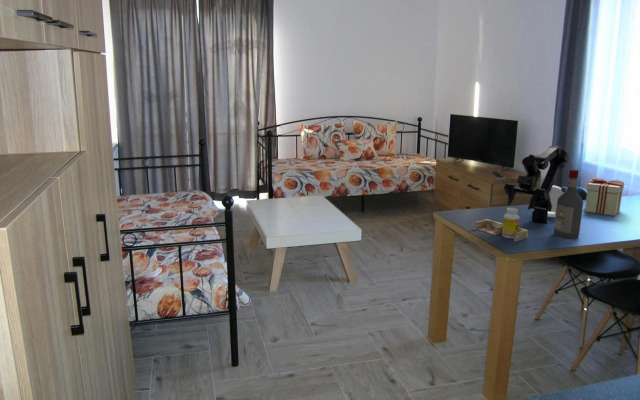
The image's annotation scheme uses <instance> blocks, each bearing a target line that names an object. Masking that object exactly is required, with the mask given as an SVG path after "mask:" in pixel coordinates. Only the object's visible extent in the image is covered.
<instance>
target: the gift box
mask: <svg viewBox="0 0 640 400" xmlns="http://www.w3.org/2000/svg"><path fill="white" fill-rule="evenodd" d="M587 182H588V183H587V185H586V198H585V205H584V207H585V208H584V213H585V212H586V213H592V214H598V215H605V216H613V217H615V216H616V215H618V213H619V212H620V210H621V203H622V195H623V191H624V189H625V187H624V186H625V183H624V181H621V180H617V179H615V180H605V179H604V178H599V177H593V178H591V179H588V180H587Z"/></svg>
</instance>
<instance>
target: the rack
mask: <svg viewBox="0 0 640 400" xmlns="http://www.w3.org/2000/svg"><path fill="white" fill-rule="evenodd" d="M474 230H475V231H479V232H483V233H487V234H491V235H493V236H498V235H502V230H503V223H502V222H499V221H497V220H496V221H495V220H492V219H487V218H485V219H482V220H477V221H475V222H474ZM528 237H529V229H526V228H525V229H524V228H521V227H519V229H518V232H517V233H514V238H513V241H514V242H518V241H522V240H525V239H528Z"/></svg>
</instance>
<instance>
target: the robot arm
mask: <svg viewBox="0 0 640 400" xmlns="http://www.w3.org/2000/svg"><path fill="white" fill-rule="evenodd" d="M569 159H570V156H569V154H568V152H567V151H566V150H564V149H562V147H561V146H557V145H551V146H549V147H548V148H547V149H546V150H545V151H544V152H542V153H541V154H536V155H534V154H528V156H526V157H524V158H523V159H522V160H521V163H522V166H523V170H524V172H525V173H526V174H525V175H518V177H517V181H516V183H517V184H518V187H516V186H515V184H514V183H509V182H507V183H504V185H503V190H504V192H505V194H506V195H507V196H508V197H507V206H510V205H511V204H512V203H513V200H514V199H515V197H516V196H515V195H516V193H519V194H525V195H530V196H531V197H530V199H529V204H528V206H527V209H528V211H529V210H531V209H532V211H531V221H532V223H535V224H548V217H547V215H548V211H551V209H552V204H551V201H550V200H551V199H550V195H549V193H550V191H551V188H552V186H554V184H555V181H556V179H557V177H558V174H559V172H560V171H561V170H562V169H563V168H565V167H566V165H567V163H569ZM547 168H548V170H547V172H546V175H545V176H544V179H543V181H542V183H541V184H540V187H539V188H538V186H537V184H538V181H539V180H540V178H542V171H545V170H546V169H547ZM541 170H542V171H541ZM535 188H536V189H535Z"/></svg>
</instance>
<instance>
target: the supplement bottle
mask: <svg viewBox="0 0 640 400" xmlns="http://www.w3.org/2000/svg"><path fill="white" fill-rule="evenodd" d="M518 213H519V209H518V208H516V207H507V208H506V213H505V214H503V219H502V220H503V230H502V234H501V236H502V237H503V238H506V239H512V240H514V233H517V232H518V229H519V228H520V215H519V214H518Z"/></svg>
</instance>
